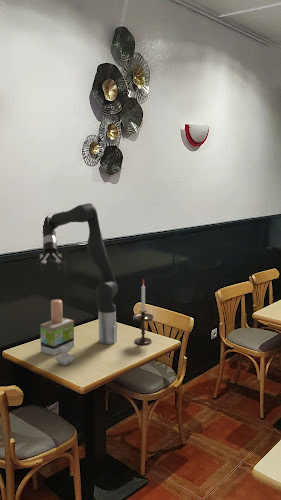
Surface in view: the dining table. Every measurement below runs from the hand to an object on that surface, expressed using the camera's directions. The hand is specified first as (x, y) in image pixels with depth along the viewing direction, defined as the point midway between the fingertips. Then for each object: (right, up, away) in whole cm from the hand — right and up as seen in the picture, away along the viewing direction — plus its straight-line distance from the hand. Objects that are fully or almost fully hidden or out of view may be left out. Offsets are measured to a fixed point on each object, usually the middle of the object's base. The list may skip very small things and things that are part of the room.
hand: (51, 270), depth 246 cm
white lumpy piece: (+11, -44, -24) cm, 51 cm away
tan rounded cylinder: (+5, -26, -10) cm, 28 cm away
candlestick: (+49, -39, +3) cm, 62 cm away
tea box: (+5, -41, -7) cm, 42 cm away
